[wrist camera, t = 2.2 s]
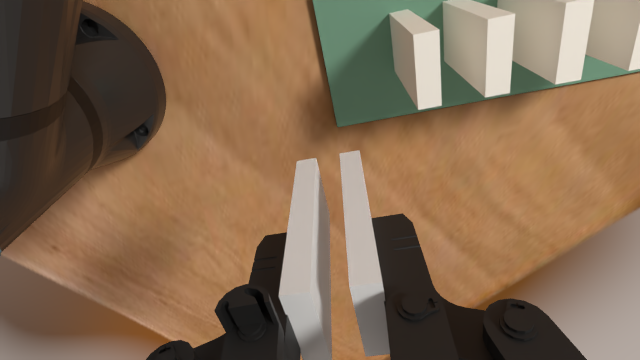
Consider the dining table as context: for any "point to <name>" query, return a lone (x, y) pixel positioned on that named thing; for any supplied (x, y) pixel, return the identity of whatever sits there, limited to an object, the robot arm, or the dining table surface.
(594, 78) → the felt mat
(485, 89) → the domino
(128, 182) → the dining table surface
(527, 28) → the domino
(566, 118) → the dining table surface
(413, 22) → the domino
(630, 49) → the domino
